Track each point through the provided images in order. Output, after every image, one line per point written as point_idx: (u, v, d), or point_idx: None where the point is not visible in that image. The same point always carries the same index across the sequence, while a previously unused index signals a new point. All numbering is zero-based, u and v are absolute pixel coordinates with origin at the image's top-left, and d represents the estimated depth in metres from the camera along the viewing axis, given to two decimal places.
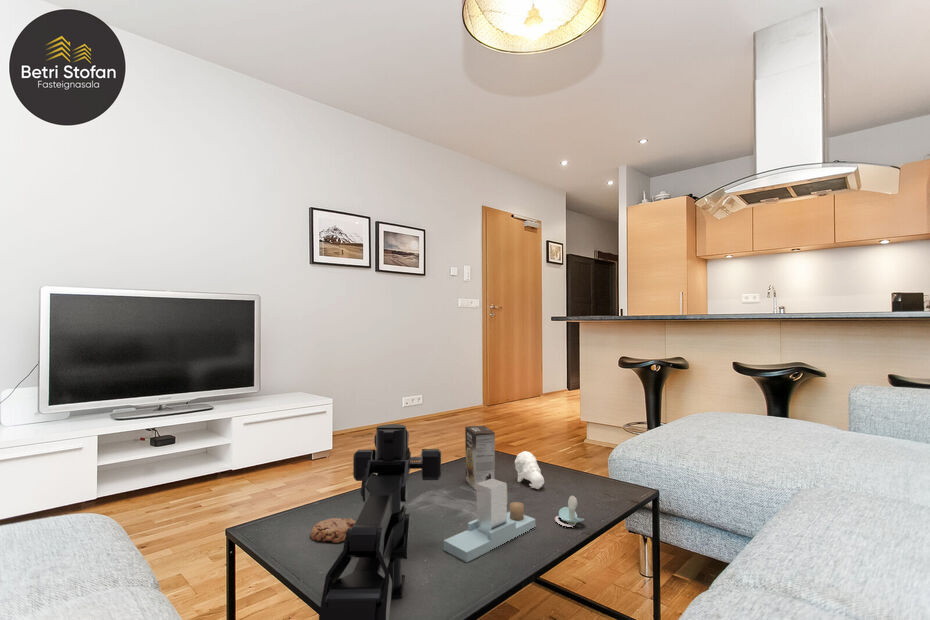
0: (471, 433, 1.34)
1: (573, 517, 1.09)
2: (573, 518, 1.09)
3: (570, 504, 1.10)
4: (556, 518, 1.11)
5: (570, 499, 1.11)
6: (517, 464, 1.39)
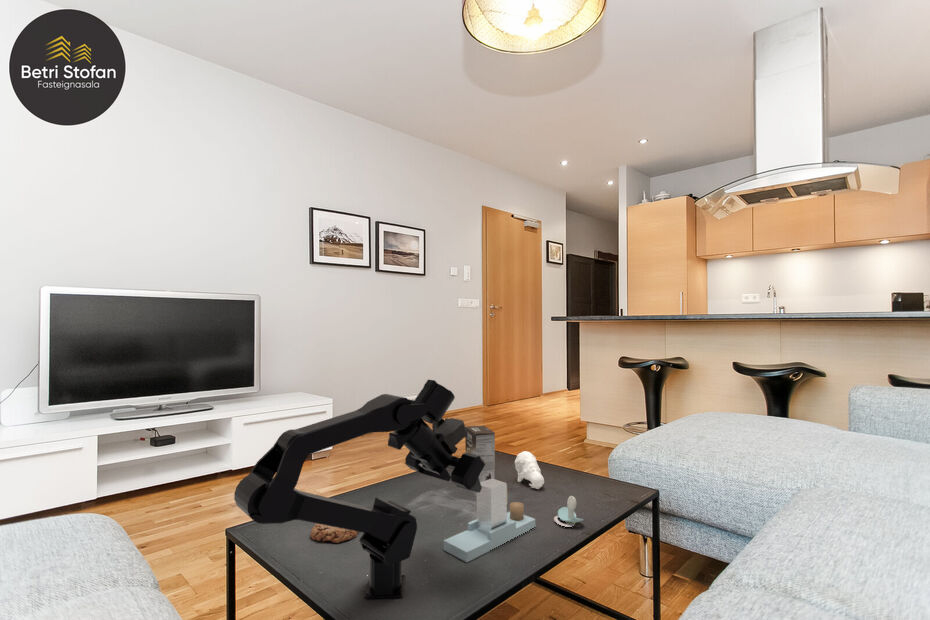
0: (471, 433, 1.34)
1: (572, 517, 1.09)
2: (572, 518, 1.09)
3: (569, 504, 1.10)
4: (555, 518, 1.11)
5: (569, 499, 1.11)
6: (517, 464, 1.39)
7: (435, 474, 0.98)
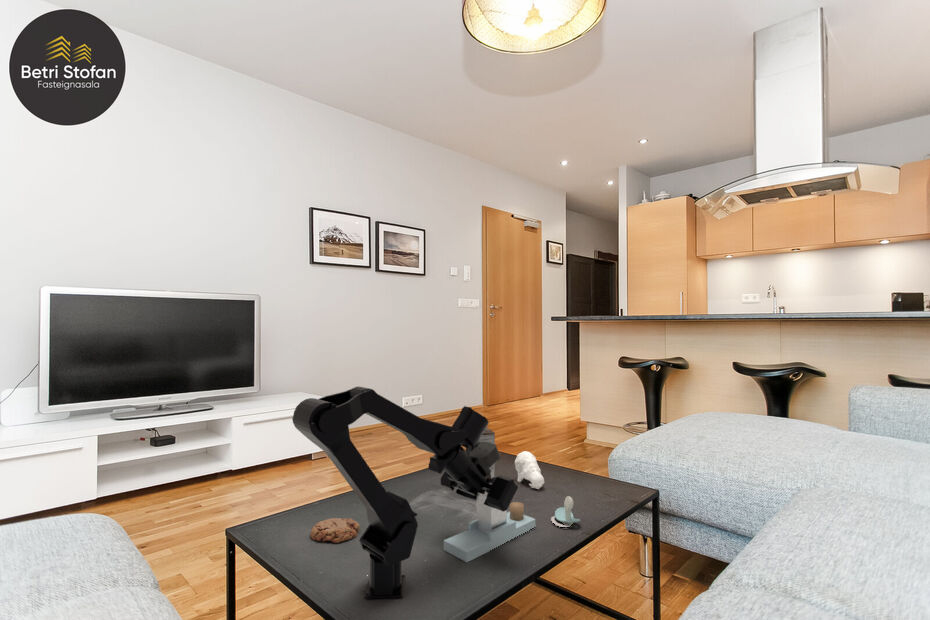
0: None
1: (569, 517, 1.09)
2: (569, 518, 1.09)
3: (566, 504, 1.10)
4: (552, 518, 1.11)
5: (566, 499, 1.11)
6: (517, 464, 1.39)
7: (475, 496, 1.03)
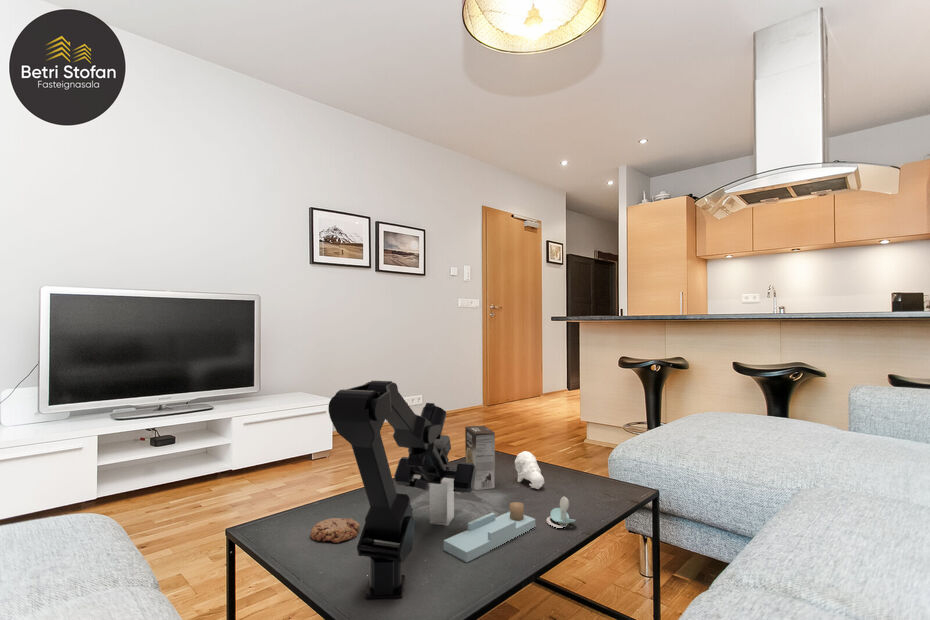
0: (471, 433, 1.34)
1: (565, 518, 1.09)
2: (565, 519, 1.09)
3: (562, 505, 1.10)
4: (548, 519, 1.10)
5: (562, 500, 1.10)
6: (517, 464, 1.39)
7: (421, 486, 1.11)
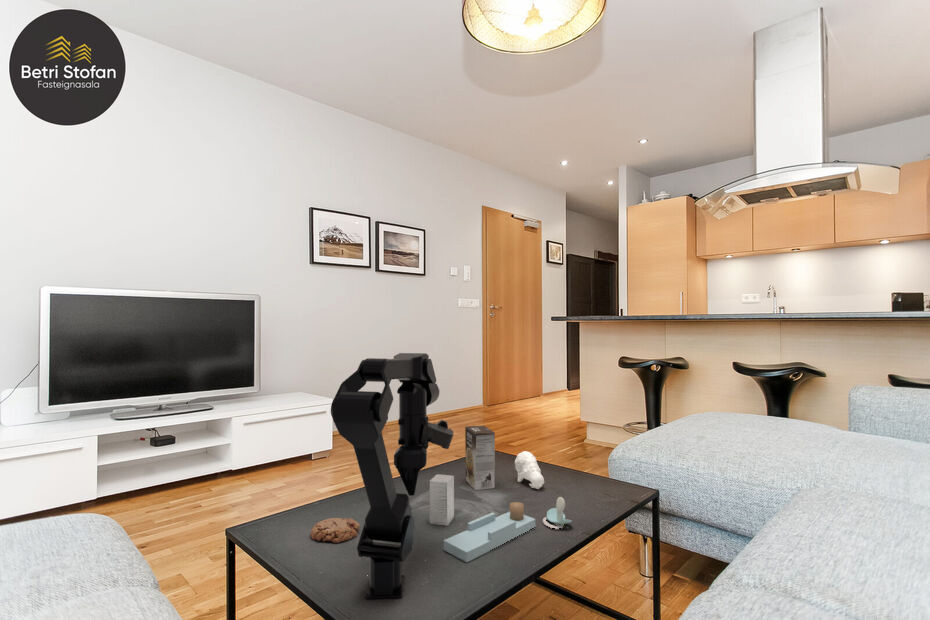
0: (471, 433, 1.34)
1: (561, 518, 1.09)
2: (561, 519, 1.09)
3: (558, 505, 1.10)
4: (544, 519, 1.10)
5: (558, 500, 1.10)
6: (517, 464, 1.39)
7: None
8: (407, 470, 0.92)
